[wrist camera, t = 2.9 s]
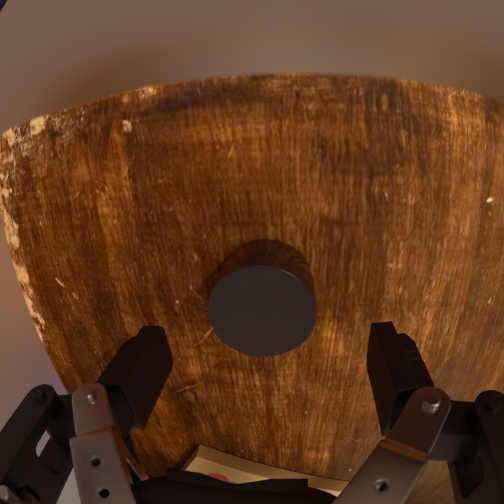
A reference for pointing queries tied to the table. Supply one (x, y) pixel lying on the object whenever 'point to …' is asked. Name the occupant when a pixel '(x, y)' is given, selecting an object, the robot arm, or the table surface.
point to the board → (250, 470)
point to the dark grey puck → (263, 299)
